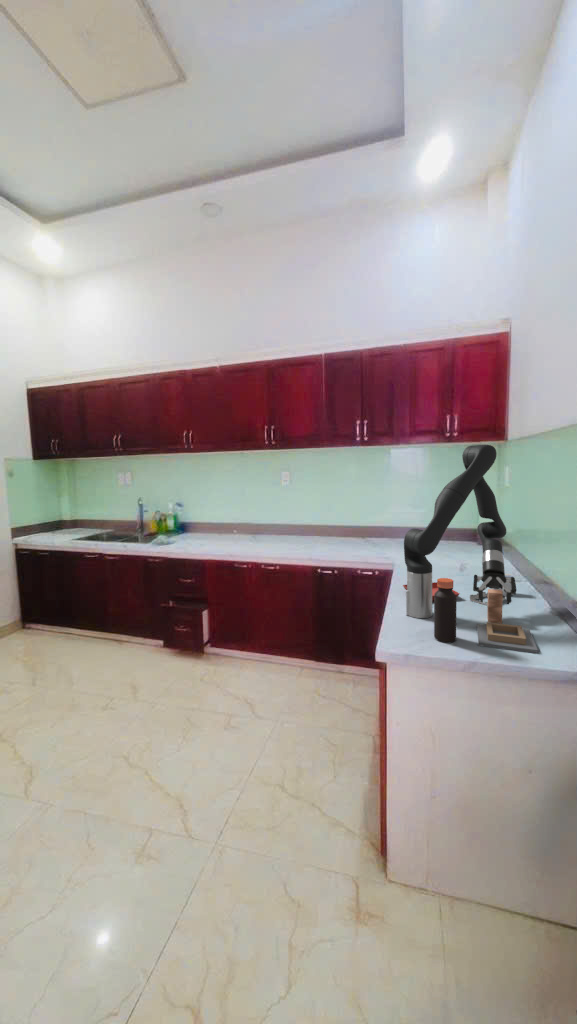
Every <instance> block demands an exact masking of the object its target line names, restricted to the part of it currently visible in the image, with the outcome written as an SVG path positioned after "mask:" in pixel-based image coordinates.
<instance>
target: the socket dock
mask: <svg viewBox="0 0 577 1024" xmlns="http://www.w3.org/2000/svg"><path fill="white" fill-rule="evenodd" d="M476 628H477V629H476V631H477V640H478V647H479V646H480V647H488V648H495V649H503V650H510V651H517V652H524V653H532V654H538V652H539V649H538V647H537V644H536V642H535V639H534V637H533V635H532V632H531V630H530V629H525V628H524V629H523V626H522V625H515V624H507V623H506V624H505V623H493V622H488V621H487V622H486V624H482V623H477V624H476Z"/></svg>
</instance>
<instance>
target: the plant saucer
mask: <svg viewBox="0 0 577 1024" xmlns="http://www.w3.org/2000/svg"><path fill="white" fill-rule="evenodd" d="M402 587H403V589H404V590H405V591H407V584H402ZM437 591H438V586H437V581H436V582H432V602H434V594H435V593H436V592H437ZM452 591H453V592H454V593H455V595H456V598H457V597H458V596H459V595H460V594H461V593H460V592H458V591H456V590H455V589H452Z"/></svg>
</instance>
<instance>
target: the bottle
mask: <svg viewBox="0 0 577 1024" xmlns="http://www.w3.org/2000/svg"><path fill="white" fill-rule="evenodd" d="M436 582H437V586H438V591H437V592H436V593H435V594H434V601H433V603H434V604H433V605H434V606H433V607H434V609H433V617H434V619H433V625H434V626H433V631H434V632H433V636H434V637H433V638H434V639H435V640H436V641H438V642H441V643H445V642H450V643H454V642H455V641H456V640H457V597H456V595H455V593H454V592H453V591H452V590H454V580H453V579H452V578H448V577H447V578H446V577H441V578H437V581H436Z"/></svg>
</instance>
